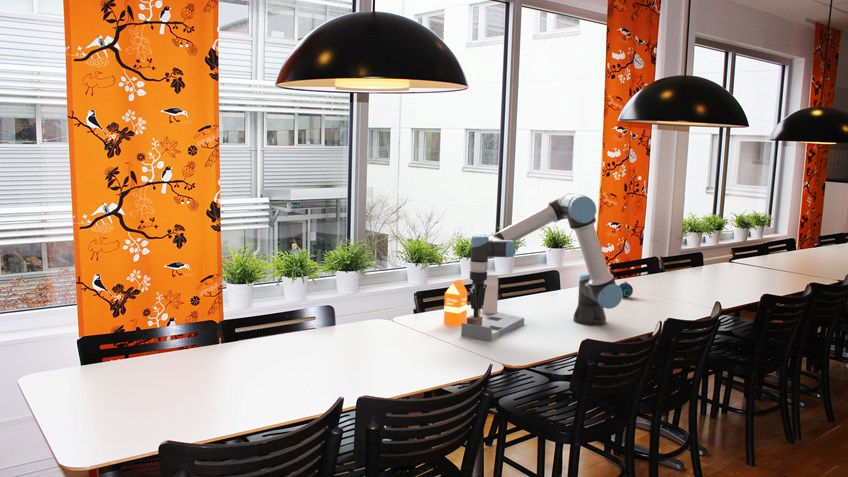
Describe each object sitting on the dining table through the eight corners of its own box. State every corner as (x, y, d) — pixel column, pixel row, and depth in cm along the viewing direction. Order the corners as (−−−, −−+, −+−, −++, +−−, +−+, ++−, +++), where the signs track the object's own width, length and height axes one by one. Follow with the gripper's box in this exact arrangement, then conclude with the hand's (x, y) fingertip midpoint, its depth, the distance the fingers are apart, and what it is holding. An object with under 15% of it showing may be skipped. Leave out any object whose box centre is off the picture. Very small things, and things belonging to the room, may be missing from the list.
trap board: (523, 323, 311) (524, 311, 310) (490, 342, 280) (490, 328, 279) (496, 319, 318) (497, 307, 317) (461, 336, 287) (461, 322, 286)
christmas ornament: (616, 298, 370) (617, 280, 368) (616, 295, 378) (618, 278, 376) (632, 299, 367) (633, 282, 366) (632, 296, 375) (633, 279, 374)
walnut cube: (481, 328, 290) (482, 317, 289) (476, 330, 286) (476, 319, 285) (471, 326, 292) (471, 315, 292) (466, 329, 288) (466, 317, 287)
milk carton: (496, 314, 328) (498, 276, 325) (482, 313, 328) (483, 276, 325) (495, 310, 335) (497, 273, 332) (481, 310, 335) (483, 273, 332)
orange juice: (443, 323, 307) (444, 281, 305) (451, 319, 315) (453, 278, 313) (458, 326, 304) (460, 283, 301) (466, 321, 312) (468, 280, 309)
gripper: (477, 267, 296) (475, 319, 299) (464, 271, 285) (462, 325, 288) (492, 269, 292) (490, 321, 295) (479, 274, 281) (477, 328, 284)
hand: (476, 323), depth 292 cm, fingers closed
